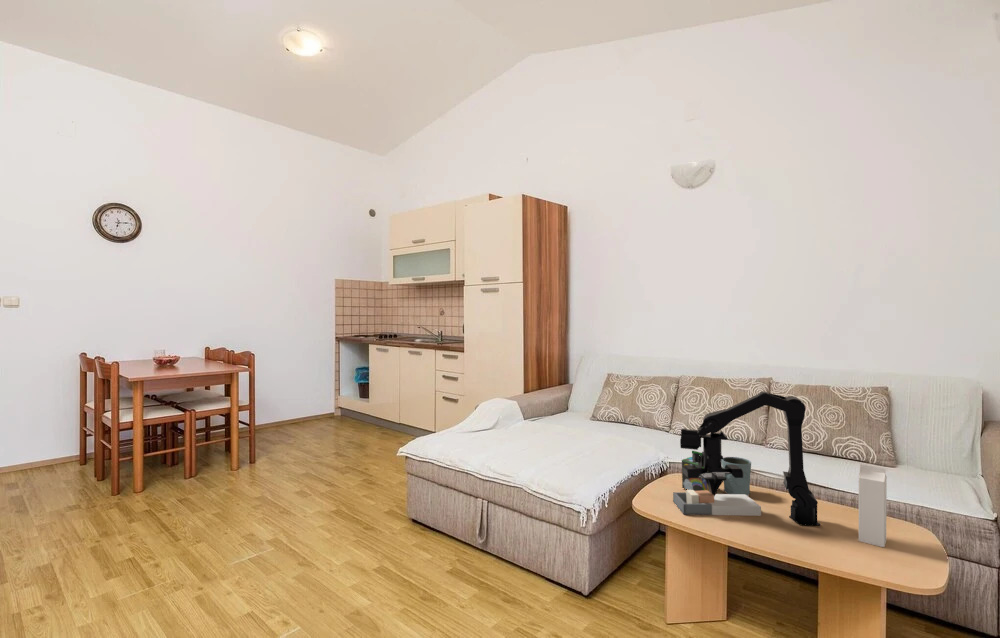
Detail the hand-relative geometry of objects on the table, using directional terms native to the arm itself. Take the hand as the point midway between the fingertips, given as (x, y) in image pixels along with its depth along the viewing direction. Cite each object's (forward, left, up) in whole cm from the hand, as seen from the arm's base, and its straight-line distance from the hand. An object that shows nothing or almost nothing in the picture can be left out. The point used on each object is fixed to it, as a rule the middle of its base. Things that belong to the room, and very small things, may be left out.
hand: (712, 496), depth 167 cm
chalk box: (-2, -18, -5) cm, 19 cm away
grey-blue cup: (-15, -16, -5) cm, 22 cm away
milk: (-37, +23, -5) cm, 44 cm away
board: (-5, 0, -4) cm, 7 cm away
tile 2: (+3, 0, -1) cm, 3 cm away
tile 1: (+6, 0, -1) cm, 6 cm away
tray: (+7, 0, -4) cm, 8 cm away
